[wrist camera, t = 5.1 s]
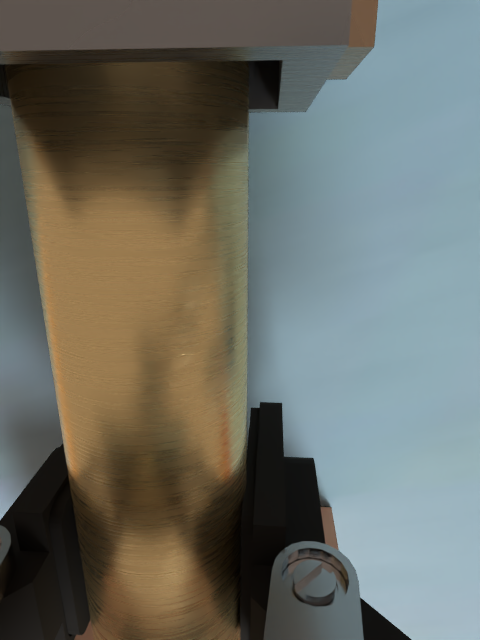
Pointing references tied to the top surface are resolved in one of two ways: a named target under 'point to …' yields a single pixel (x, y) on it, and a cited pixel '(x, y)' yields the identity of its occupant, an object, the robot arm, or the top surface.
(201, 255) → the tube
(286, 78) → the grey block
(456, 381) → the top surface
